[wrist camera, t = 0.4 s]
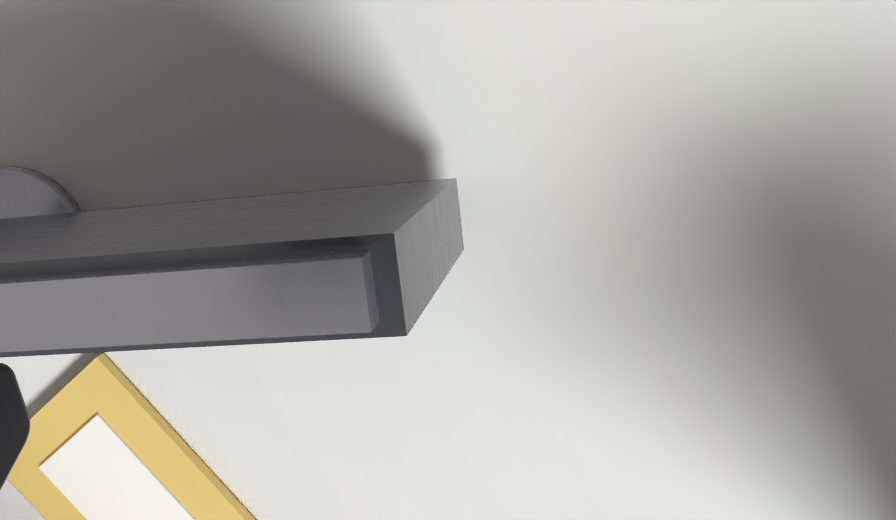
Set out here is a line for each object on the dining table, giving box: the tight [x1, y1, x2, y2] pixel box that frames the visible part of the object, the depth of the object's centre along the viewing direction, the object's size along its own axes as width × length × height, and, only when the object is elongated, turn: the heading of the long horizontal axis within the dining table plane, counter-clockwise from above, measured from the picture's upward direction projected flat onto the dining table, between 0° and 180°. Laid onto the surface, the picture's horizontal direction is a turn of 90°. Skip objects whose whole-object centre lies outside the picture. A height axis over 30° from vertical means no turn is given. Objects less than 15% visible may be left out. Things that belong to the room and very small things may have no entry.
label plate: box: [7, 353, 256, 520], centre depth 27 cm, size 6×8×1 cm
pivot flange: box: [0, 167, 81, 219], centre depth 26 cm, size 5×5×1 cm
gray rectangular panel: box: [0, 178, 464, 357], centre depth 20 cm, size 16×2×8 cm, turn 96°
